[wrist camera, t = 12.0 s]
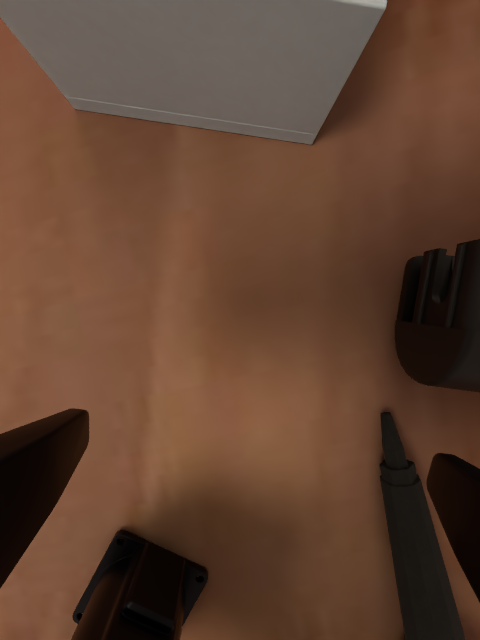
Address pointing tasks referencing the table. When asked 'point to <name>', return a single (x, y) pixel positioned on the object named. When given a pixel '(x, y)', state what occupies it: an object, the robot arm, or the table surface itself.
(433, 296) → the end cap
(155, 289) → the table surface
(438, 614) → the microphone
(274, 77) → the grey hollow block
